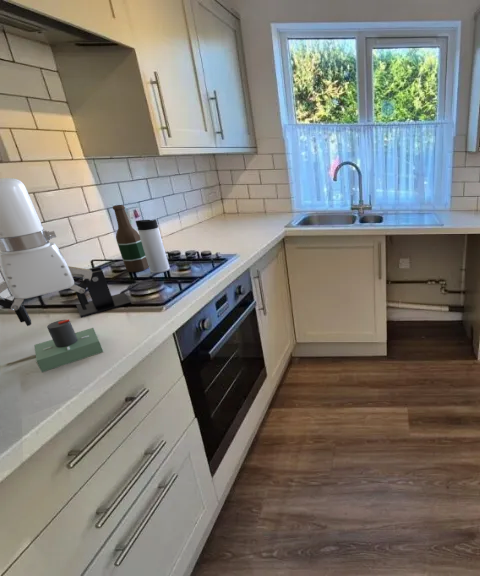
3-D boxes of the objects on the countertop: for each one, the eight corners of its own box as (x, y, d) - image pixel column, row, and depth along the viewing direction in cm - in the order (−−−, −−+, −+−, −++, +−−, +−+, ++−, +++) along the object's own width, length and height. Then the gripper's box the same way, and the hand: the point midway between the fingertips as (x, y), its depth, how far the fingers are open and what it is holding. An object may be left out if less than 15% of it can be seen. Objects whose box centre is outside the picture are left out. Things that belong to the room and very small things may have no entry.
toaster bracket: (82, 320, 99) (66, 281, 95) (77, 309, 106) (62, 271, 101) (132, 306, 107) (120, 269, 102) (125, 296, 114) (113, 261, 109)
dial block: (41, 372, 78) (35, 360, 77) (39, 355, 84) (34, 344, 83) (103, 351, 85) (98, 340, 83) (97, 337, 91) (93, 326, 89)
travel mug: (146, 275, 131) (129, 221, 123) (159, 269, 137) (143, 216, 129) (162, 276, 130) (146, 221, 122) (174, 269, 136) (159, 216, 128)
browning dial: (56, 349, 80) (46, 328, 78) (54, 342, 83) (45, 322, 81) (78, 342, 83) (70, 322, 81) (76, 336, 86) (68, 316, 84)
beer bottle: (154, 266, 139) (135, 204, 129) (134, 273, 133) (113, 208, 123) (141, 264, 142) (122, 203, 133) (121, 271, 136) (99, 206, 126)
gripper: (74, 229, 81) (101, 298, 88) (-36, 248, 71) (4, 324, 78) (78, 235, 76) (107, 307, 83) (-40, 256, 66) (4, 336, 73)
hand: (57, 315), depth 81 cm, fingers open, 9 cm apart
